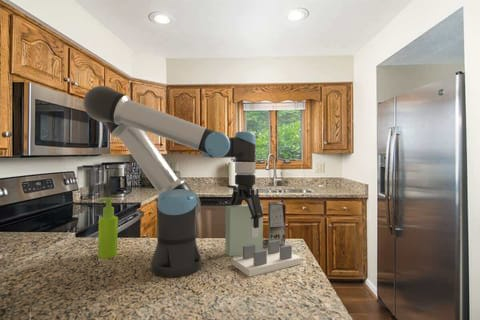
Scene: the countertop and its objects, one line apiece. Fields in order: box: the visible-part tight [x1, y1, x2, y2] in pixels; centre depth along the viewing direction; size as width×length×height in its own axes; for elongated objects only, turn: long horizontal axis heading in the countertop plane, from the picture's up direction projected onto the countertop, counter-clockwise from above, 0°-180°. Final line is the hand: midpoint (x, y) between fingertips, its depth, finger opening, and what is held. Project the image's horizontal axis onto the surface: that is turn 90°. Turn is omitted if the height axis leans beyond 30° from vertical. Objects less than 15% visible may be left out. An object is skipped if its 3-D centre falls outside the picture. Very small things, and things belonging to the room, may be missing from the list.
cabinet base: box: [231, 240, 302, 278], centre depth 85 cm, size 20×10×6 cm, turn 121°
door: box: [224, 203, 264, 257], centre depth 97 cm, size 14×5×17 cm, turn 121°
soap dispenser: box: [96, 197, 119, 260], centre depth 91 cm, size 6×7×20 cm
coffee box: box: [267, 201, 287, 246], centre depth 110 cm, size 9×6×16 cm
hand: (244, 232), depth 97 cm, fingers open, 12 cm apart
